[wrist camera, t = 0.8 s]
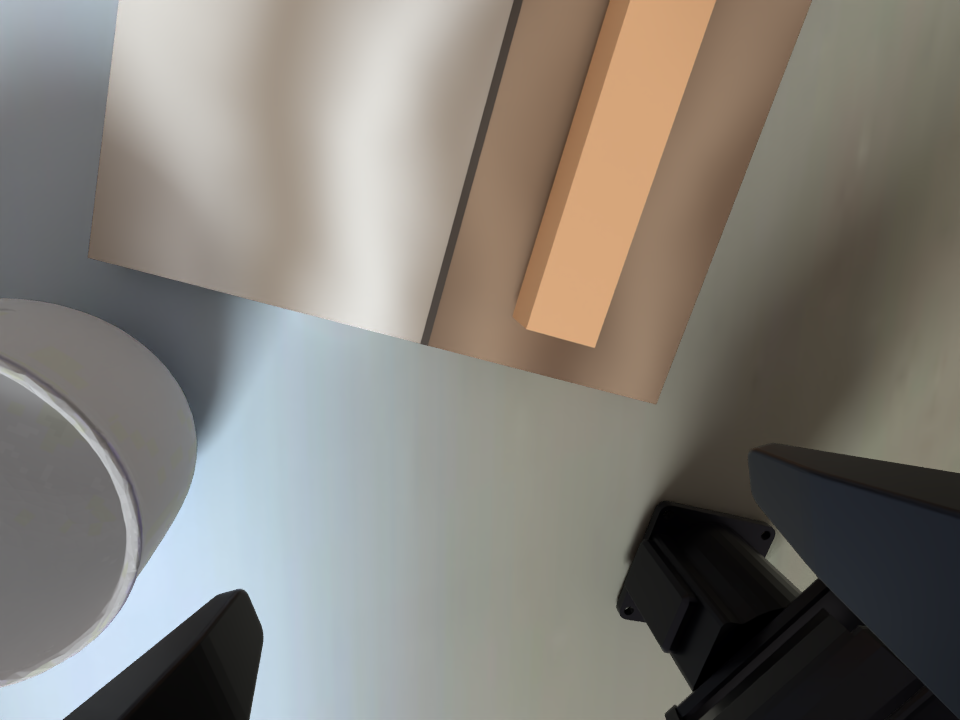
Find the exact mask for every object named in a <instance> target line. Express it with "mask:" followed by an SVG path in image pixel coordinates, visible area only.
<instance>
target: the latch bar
mask: <svg viewBox="0 0 960 720" xmlns="http://www.w3.org/2000/svg"><path fill="white" fill-rule="evenodd" d="M715 2H716V0H610V1H609V5H608V8H607V11H606V14H605V18H604V21H603V24H602V27H601V31H600V34H599V37H598V40H597V43H596V47H595V50H594V53H593V56H592V60H591V63H590V66H589V69H588V73H587V76H586V79H585V82H584V86H583V89H582V92H581V95H580V99H579V102H578V105H577V108H576V112H575V115H574V118H573V121H572V124H571V128H570V131H569V134H568V137H567V141H566V144H565V147H564V150H563V154H562V157H561V160H560V163H559V167H558V170H557V173H556V176H555V180H554V183H553V186H552V189H551V192H550V196H549V199H548V202H547V205H546V209H545V212H544V215H543V218H542V222H541V225H540V228H539V231H538V235H537V238H536V241H535V244H534V248H533V251H532V254H531V257H530V261H529V264H528V267H527V270H526V273H525V277H524V280H523V283H522V286H521V290H520V293H519V296H518V299H517V303H516V306H515V309H514V312H513V316H512V317H513V318H514V319H515V320H516V321H517V322H519V323H520V324H521V325H522V326H523V327H524V328H525V329H527V330H531V331H535V332H538V333H542V334H546V335H549V336H553V337H557V338H560V339H564V340H567V341H571V342H575V343H578V344H582V345H586V346H589V347H593V348H595V346H596V343H597V340H598V337H599V334H600V331H601V329H602V326H603V323H604V320H605V317H606V314H607V311H608V308H609V306H610V303H611V300H612V297H613V294H614V291H615V288H616V286H617V283H618V280H619V277H620V274H621V271H622V268H623V266H624V263H625V260H626V257H627V254H628V251H629V248H630V245H631V243H632V240H633V237H634V234H635V231H636V228H637V225H638V223H639V220H640V217H641V214H642V211H643V208H644V205H645V203H646V200H647V197H648V194H649V191H650V188H651V185H652V183H653V180H654V177H655V174H656V171H657V168H658V165H659V162H660V160H661V157H662V154H663V151H664V148H665V145H666V142H667V140H668V137H669V134H670V131H671V128H672V125H673V122H674V120H675V117H676V114H677V111H678V108H679V105H680V102H681V99H682V97H683V94H684V91H685V88H686V85H687V82H688V79H689V77H690V74H691V71H692V68H693V65H694V62H695V59H696V57H697V54H698V51H699V48H700V45H701V42H702V39H703V37H704V34H705V31H706V28H707V25H708V22H709V19H710V16H711V14H712V11H713V8H714V5H715Z"/></svg>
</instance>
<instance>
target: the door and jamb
mask: <svg viewBox="0 0 960 720" xmlns="http://www.w3.org/2000/svg"><path fill="white" fill-rule="evenodd" d="M609 1H610V0H119V4H118V12H117V20H116V28H115V37H114V45H113V53H112V61H111V70H110V78H109V86H108V94H107V103H106V111H105V119H104V127H103V136H102V144H101V152H100V160H99V169H98V177H97V185H96V193H95V202H94V210H93V218H92V226H91V235H90V243H89V251H88V258H91V259H95V260H99V261H103V262H106V263H110V264H114V265H118V266H122V267H126V268H130V269H134V270H137V271H141V272H145V273H149V274H153V275H157V276H161V277H165V278H168V279H172V280H176V281H180V282H184V283H188V284H192V285H196V286H199V287H203V288H207V289H211V290H215V291H219V292H223V293H227V294H230V295H234V296H238V297H242V298H246V299H250V300H254V301H258V302H261V303H265V304H269V305H273V306H277V307H281V308H285V309H289V310H292V311H296V312H300V313H304V314H308V315H312V316H316V317H320V318H323V319H327V320H331V321H335V322H339V323H343V324H347V325H351V326H354V327H358V328H362V329H366V330H370V331H374V332H378V333H382V334H385V335H389V336H393V337H397V338H401V339H405V340H409V341H413V342H416V343H420V344H423V345H427V346H432V347H436V348H440V349H444V350H447V351H451V352H455V353H459V354H463V355H467V356H471V357H474V358H478V359H482V360H486V361H490V362H494V363H498V364H502V365H505V366H509V367H513V368H517V369H521V370H525V371H529V372H533V373H536V374H540V375H544V376H548V377H552V378H556V379H560V380H564V381H567V382H571V383H575V384H579V385H583V386H587V387H591V388H595V389H598V390H602V391H606V392H610V393H614V394H618V395H622V396H626V397H629V398H633V399H637V400H641V401H645V402H649V403H653V404H656V403H657V401H658V398H659V396H660V393H661V390H662V388H663V385H664V383H665V380H666V378H667V375H668V372H669V370H670V367H671V365H672V362H673V359H674V357H675V354H676V352H677V349H678V346H679V344H680V341H681V339H682V336H683V333H684V331H685V328H686V326H687V323H688V321H689V318H690V315H691V313H692V310H693V308H694V305H695V302H696V300H697V297H698V295H699V292H700V289H701V287H702V284H703V282H704V279H705V276H706V274H707V271H708V269H709V266H710V264H711V261H712V258H713V256H714V253H715V251H716V248H717V245H718V243H719V240H720V238H721V235H722V232H723V230H724V227H725V225H726V222H727V219H728V217H729V214H730V212H731V209H732V207H733V204H734V201H735V199H736V196H737V194H738V191H739V188H740V186H741V183H742V181H743V178H744V175H745V173H746V170H747V168H748V165H749V162H750V160H751V157H752V155H753V152H754V150H755V147H756V144H757V142H758V139H759V137H760V134H761V131H762V129H763V126H764V124H765V121H766V118H767V116H768V113H769V111H770V108H771V105H772V103H773V100H774V98H775V95H776V93H777V90H778V87H779V85H780V82H781V80H782V77H783V74H784V72H785V69H786V67H787V64H788V61H789V59H790V56H791V54H792V51H793V48H794V46H795V43H796V41H797V38H798V36H799V33H800V30H801V28H802V25H803V23H804V20H805V17H806V15H807V12H808V10H809V7H810V4H811V2H812V0H716V2H715V5H714V8H713V11H712V14H711V16H710V19H709V22H708V25H707V28H706V31H705V34H704V37H703V39H702V42H701V45H700V48H699V51H698V54H697V57H696V59H695V62H694V65H693V68H692V71H691V74H690V77H689V79H688V82H687V85H686V88H685V91H684V94H683V97H682V99H681V102H680V105H679V108H678V111H677V114H676V117H675V120H674V122H673V125H672V128H671V131H670V134H669V137H668V140H667V142H666V145H665V148H664V151H663V154H662V157H661V160H660V162H659V165H658V168H657V171H656V174H655V177H654V180H653V183H652V185H651V188H650V191H649V194H648V197H647V200H646V203H645V205H644V208H643V211H642V214H641V217H640V220H639V223H638V225H637V228H636V231H635V234H634V237H633V240H632V243H631V245H630V248H629V251H628V254H627V257H626V260H625V263H624V266H623V268H622V271H621V274H620V277H619V280H618V283H617V286H616V288H615V291H614V294H613V297H612V300H611V303H610V306H609V308H608V311H607V314H606V317H605V320H604V323H603V326H602V329H601V331H600V334H599V337H598V340H597V343H596V346H595V348H593V347H589V346H586V345H582V344H578V343H575V342H571V341H567V340H564V339H560V338H557V337H553V336H549V335H546V334H542V333H538V332H535V331H531V330H527V329H525V328H524V327H523V326H522V325H521V324H520V323H519V322H517V321H516V320H515V319H514V318H513V317H512V316H513V312H514V309H515V306H516V303H517V299H518V296H519V293H520V290H521V286H522V283H523V280H524V277H525V273H526V270H527V267H528V264H529V261H530V257H531V254H532V251H533V248H534V244H535V241H536V238H537V235H538V231H539V228H540V225H541V222H542V218H543V215H544V212H545V209H546V205H547V202H548V199H549V196H550V192H551V189H552V186H553V183H554V180H555V176H556V173H557V170H558V167H559V163H560V160H561V157H562V154H563V150H564V147H565V144H566V141H567V137H568V134H569V131H570V128H571V124H572V121H573V118H574V115H575V112H576V108H577V105H578V102H579V99H580V95H581V92H582V89H583V86H584V82H585V79H586V76H587V73H588V69H589V66H590V63H591V60H592V56H593V53H594V50H595V47H596V43H597V40H598V37H599V34H600V31H601V27H602V24H603V21H604V18H605V14H606V11H607V8H608V5H609Z"/></svg>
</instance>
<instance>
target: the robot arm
mask: <svg viewBox="0 0 960 720" xmlns="http://www.w3.org/2000/svg"><path fill="white" fill-rule="evenodd" d="M748 465H749V475H750V484H751V492H752V495H753V497H754V500H755V501H756V503H757V504H758V506H759V507H760V508H761V509H762V511H763V512H764V513H765V514H766V516H767V517H768V518H769V519H770V520H771V522H772V523H773V524H774V525H775V526H776V528H777V529H778V530H779V531H780V533H781V534H782V535H783V536H784V537H785V539H786V540H787V541H788V542H789V543H790V545H791V546H792V547H793V548H794V550H795V551H796V552H797V553H798V554H799V556H800V557H801V558H802V559H803V560H804V562H805V563H806V564H807V565H808V566H809V567H810V569H811V570H812V571H813V572H814V573H815V574H816V576H817V577H818V579H816V580H815V581H814V582H813V583H812V584H811V585H810V586H809V587H808V588H807V589H806V590H804V591H803V592H801V591H800V590H799V589H798V588H797V587H796V586H794V585H793V584H792V583H791V582H790V581H789V580H788V579H787V578H786V577H785V576H784V575H783V574H782V573H781V572H779V571H778V570H777V569H776V568H775V567H774V566H773V565H772V564H771V563H770V562H769V561H768V560H767V559H766V558H765V556H766V554H767V552H768V550H769V548H770V545H771V543H772V541H773V539H774V537H775V530H774V529H773V528H772V527H771V526H770V525H769V524H767V523H765V522H761V521H757V520H752V519H748V518H743V517H738V516H734V515H729V514H725V513H720V512H715V511H711V510H706V509H702V508H697V507H692V506H688V505H683V504H679V503H674V502H670V501H663V502H661V503H659V504H658V505H657V507H656V508H655V511H654V513H653V516H652V518H651V520H650V523H649V525H648V528H647V530H646V533H645V535H644V538H643V540H642V542H641V543H640V545H639V548H638V550H637V553H636V555H635V558H634V560H633V563H632V565H631V568H630V570H629V573H628V575H627V578H626V580H625V582H624V587H623V590H622V592H621V595H620V597H619V600H618V602H617V606H616V608H617V611H618V612H619V614H620V616H621V617H622V618H624V619H627V620H634V621H640V622H646V623H647V625H648V627H649V628H650V630H651V632H652V633H653V635H654V637H655V638H656V640H657V642H658V643H659V645H660V647H661V649H662V650H663V651H664V652H665V653H670V655H671V656H672V658H673V660H674V661H675V663H676V665H677V666H678V668H679V670H680V671H681V673H682V675H683V676H684V678H685V680H686V681H687V683H688V685H689V686H690V688H691V690H692V691H693V692H692V693H691V694H690V695H689V696H688V697H687V698H686V699H685V700H684V701H682V702H681V703H680V704H679V705H678V706H676V705H674V706H673V707H672V708H671V709H669V710H668V711H667V712H666V713H665V717H666V720H960V473H955V472H949V471H943V470H936V469H930V468H924V467H918V466H912V465H906V464H899V463H893V462H887V461H881V460H875V459H868V458H862V457H856V456H850V455H844V454H838V453H831V452H825V451H819V450H813V449H807V448H801V447H794V446H788V445H782V444H776V443H771V444H766V445H762V446H759V447H755V448H752V449H751V450H750V451H749V453H748ZM667 510H669V512H668V514H666V515H664V513H665V511H667ZM763 532H764V533H763ZM762 533H763V534H762ZM761 534H762V535H761ZM627 607H629V608H628V609H626V608H627ZM262 646H263V630H262V626H261V624H260V621H259V619H258V616H257V614H256V612H255V609H254V607H253V605H252V602H251V600H250V598H249V596H248V594H247V592H246V591H245V590H242V589H236V590H233V591H229V592H225V593H222V594H219V595H217V596H215V597H214V598H213V599H211V600H210V601H209V602H208V603H206V604H205V605H204V606H203V607H201V608H200V609H199V610H198V611H197V612H195V613H194V614H193V615H192V616H190V617H189V618H188V619H187V620H185V621H184V622H183V623H182V624H180V625H179V626H178V627H177V628H176V629H174V630H173V631H172V632H171V633H169V634H168V635H167V636H166V637H164V638H163V639H162V640H161V641H159V642H158V643H157V644H156V645H155V646H153V647H152V648H151V649H150V650H148V651H147V652H146V653H145V654H143V655H142V656H141V657H140V658H138V659H137V660H136V661H135V662H133V663H132V664H131V665H130V666H129V667H127V668H126V669H125V670H124V671H122V672H121V673H120V674H119V675H117V676H116V677H115V678H114V679H112V680H111V681H110V682H109V683H108V684H106V685H105V686H104V687H103V688H101V689H100V690H99V691H98V692H96V693H95V694H94V695H93V696H91V697H90V698H89V699H88V700H87V701H85V702H84V703H83V704H82V705H80V706H79V707H78V708H77V709H75V710H74V711H73V712H72V713H70V714H69V715H68V716H67V717H65V718H64V719H63V720H249V719H250V713H251V707H252V702H253V696H254V691H255V685H256V680H257V674H258V668H259V663H260V657H261V652H262Z"/></svg>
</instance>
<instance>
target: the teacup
mask: <svg viewBox="0 0 960 720" xmlns="http://www.w3.org/2000/svg"><path fill="white" fill-rule="evenodd" d="M196 457H197V438H196V430H195V425H194V420H193V415H192V413H191V410H190V407H189V404H188V402H187V399H186V397H185V395H184V393H183V391H182V389H181V388H180V386H179V384H178V383H177V381H176V380H175V378H174V377H173V376H172V374H171V373H170V371H169V370H168V369H167V367H166V366H165V365H164V364H163V363H162V362H161V361H160V360H159V359H158V358H157V357H156V356H155V355H154V354H153V353H152V352H151V351H150V350H149V349H148V348H146V347H145V346H144V345H143V344H142V343H140V342H139V341H137V340H136V339H135V338H133V337H132V336H130V335H129V334H128V333H126V332H124V331H123V330H121V329H119V328H118V327H116V326H114V325H112V324H110V323H108V322H106V321H104V320H102V319H100V318H97V317H95V316H92V315H90V314H87V313H85V312H82V311H79V310H76V309H72V308H68V307H65V306H61V305H57V304H53V303H47V302H42V301H34V300H25V299H11V298H0V688H1V687H5V686H8V685H12V684H15V683H19V682H21V681H24V680H26V679H29V678H31V677H34V676H36V675H39V674H41V673H43V672H45V671H47V670H49V669H51V668H52V667H54V666H56V665H58V664H60V663H61V662H63V661H65V660H67V659H68V658H70V657H72V656H73V655H75V654H77V653H78V652H80V651H81V650H82V649H83V648H85V647H86V646H87V645H88V644H89V643H91V642H92V641H93V640H94V639H95V638H96V637H98V636H99V635H100V634H101V633H102V632H103V631H104V630H105V629H106V628H107V627H108V625H109V624H110V623H111V622H112V620H113V619H114V618H115V616H116V615H117V614H118V612H119V611H120V610H121V608H122V607H123V605H124V604H125V602H126V600H127V598H128V596H129V594H130V592H131V590H132V588H133V585H134V583H135V580H136V578H137V576H138V575H139V574H140V572H141V571H142V569H143V568H144V567H145V565H146V564H147V562H148V561H149V559H150V558H151V556H152V554H153V553H154V551H155V550H156V548H157V547H158V545H159V544H160V542H161V540H162V539H163V537H164V536H165V534H166V532H167V531H168V529H169V528H170V526H171V524H172V523H173V521H174V519H175V517H176V516H177V514H178V512H179V510H180V508H181V506H182V504H183V502H184V500H185V498H186V496H187V493H188V491H189V488H190V485H191V482H192V478H193V475H194V470H195V464H196Z"/></svg>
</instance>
